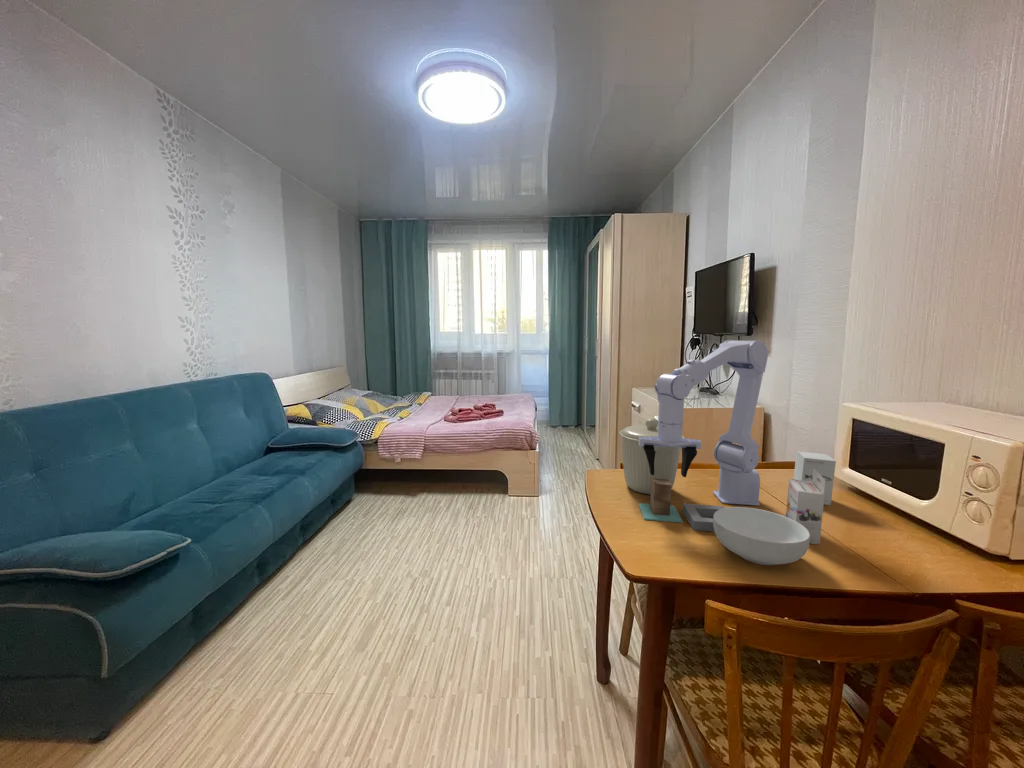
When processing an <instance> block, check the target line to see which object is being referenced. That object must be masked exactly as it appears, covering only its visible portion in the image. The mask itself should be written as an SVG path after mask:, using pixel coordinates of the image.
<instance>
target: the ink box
mask: <svg viewBox="0 0 1024 768" xmlns="http://www.w3.org/2000/svg"><path fill="white" fill-rule="evenodd" d="M817 478H819V480H820V481H821V484H820V482H819V481H818V480H817ZM825 483H826V480H825V479H824V478H823V477H822V476H821V475H820V474H819V473H818V472H817V471H816V470H815V469H813V480H812V482H811V481H803V480H795V479H794V478H789V479H788V489H787V490H788V491H787V500H786V512H785V517H788V518H790V519H792V520H794V521H796V522H798V523H800V524H801V525H803V526H804V527H805V528H806V529H807V530H808V531H809V533H810V542H809V544H812V545H820V544H821V535H822V534H821V533H822V532H821V531H822V523H823V514H824V495H825V494H824V493H825Z"/></svg>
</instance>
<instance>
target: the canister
mask: <svg viewBox="0 0 1024 768" xmlns="http://www.w3.org/2000/svg"><path fill="white" fill-rule="evenodd" d="M644 422H645V424H638V425H637V424H635V425H630V426H629V425H628V426H626V427H624V428H623V429H620V431H619V433H618V434H619V436H620V437H621V451H622V452H621V453H622V464H623V466H622V467H623V473H624V474H623V475H624V481H625V484H626V485H627V487H629V489H631V490H633V491H635V492H637V493H641V494H646V495H651V482H652V478H656V479H668V480H669V482H670V483H671V490H672V489H673V487H674V485H675V480H676V476H677V472H678V466H679V461H680V460H679V459H680V454H681V451H682V448H679V447H657V446H654V450H655V451H656V453H655V460H654V475H651V474H650V469H649V463H648V459H647V456H646V453H645V451H644V449H643V447H641V446H639V437H657V436H658V419H655V418H648V419H646V421H644ZM682 438H685V436H684V435H683V434H682Z"/></svg>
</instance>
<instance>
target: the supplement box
mask: <svg viewBox="0 0 1024 768" xmlns="http://www.w3.org/2000/svg"><path fill="white" fill-rule="evenodd" d="M794 461H795V462H794V473H793V479H795V480H803V481H811V482H812V480H813V469H815V470H816V471H817V472H818V473H819V474H820V475H821V476H822V477H823V478H824V479H825V480H826V483H825V493H824V494H825V495H824V505H825V506H831V505H832V499H833V488H834V480H835V472H836V463H837V461H836V460H835V459H834V458H832V457H831V456H830V455H829V454H826V453H817V452H808V451H801V450H800V451H799V450H798V451H796V454H795V460H794ZM817 480H818V481H819V482H820V484H821V481H820V480H819V478H817Z"/></svg>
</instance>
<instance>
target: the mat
mask: <svg viewBox="0 0 1024 768" xmlns="http://www.w3.org/2000/svg"><path fill="white" fill-rule="evenodd" d="M638 506H639V509H640V511H641V515H642V518H643V520H645V521H657V522H670V523H671V522H672V523H681V524H682V523H684V521H683V519H682V517H681V516H680V514H679V511H678V510H677V509H676V506H675V505H671V504H670V516H667V515H654V514H653V513H652V511H651V509H650V503H640V502H639V503H638Z"/></svg>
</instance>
